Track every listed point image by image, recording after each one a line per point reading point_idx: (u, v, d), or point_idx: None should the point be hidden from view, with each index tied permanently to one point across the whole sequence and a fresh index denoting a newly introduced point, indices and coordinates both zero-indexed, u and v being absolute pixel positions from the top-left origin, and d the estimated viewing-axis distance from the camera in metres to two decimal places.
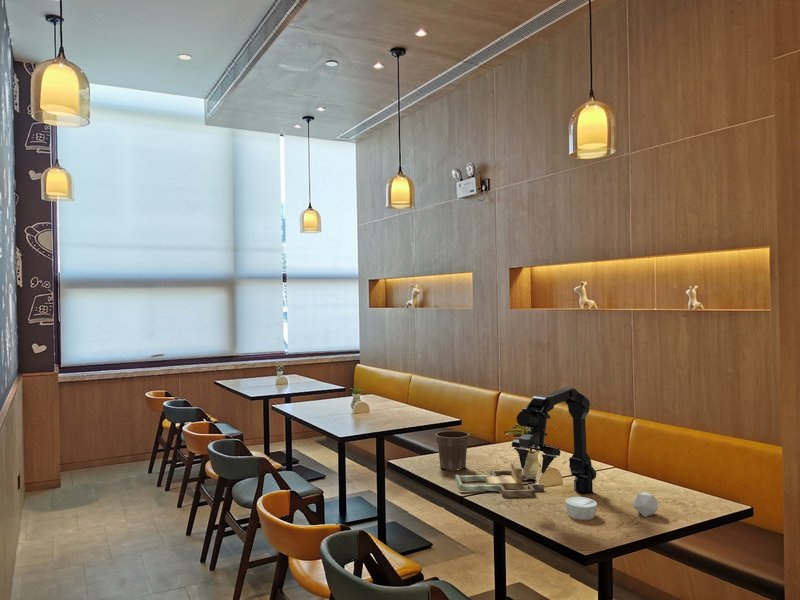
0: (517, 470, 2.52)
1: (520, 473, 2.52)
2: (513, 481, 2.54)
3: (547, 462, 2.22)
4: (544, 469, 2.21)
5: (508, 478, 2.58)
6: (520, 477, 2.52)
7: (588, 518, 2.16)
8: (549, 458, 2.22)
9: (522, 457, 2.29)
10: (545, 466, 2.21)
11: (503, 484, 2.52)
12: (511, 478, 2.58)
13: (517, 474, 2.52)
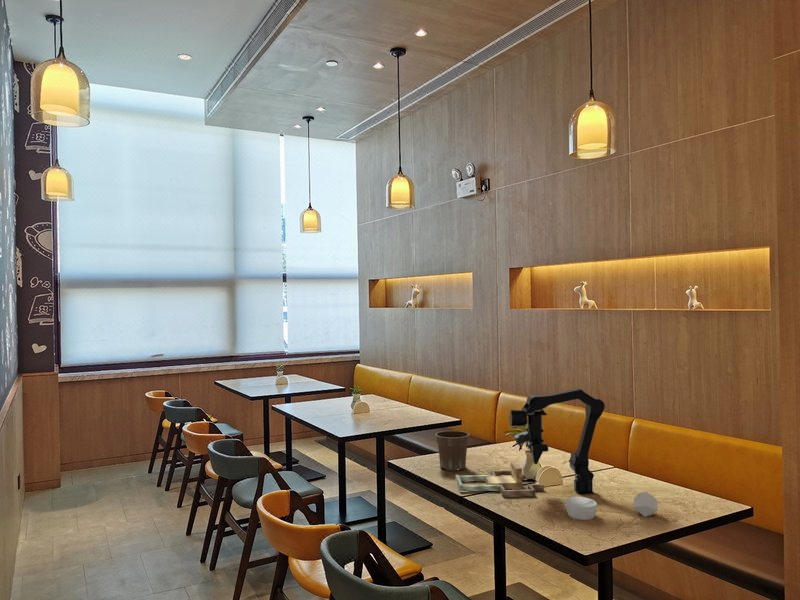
0: (517, 470, 2.52)
1: (520, 473, 2.52)
2: (513, 481, 2.54)
3: (537, 454, 2.45)
4: (535, 460, 2.46)
5: (508, 478, 2.58)
6: (520, 477, 2.52)
7: (588, 518, 2.16)
8: None
9: (533, 453, 2.48)
10: (535, 458, 2.46)
11: (503, 484, 2.52)
12: (511, 478, 2.58)
13: (517, 474, 2.52)
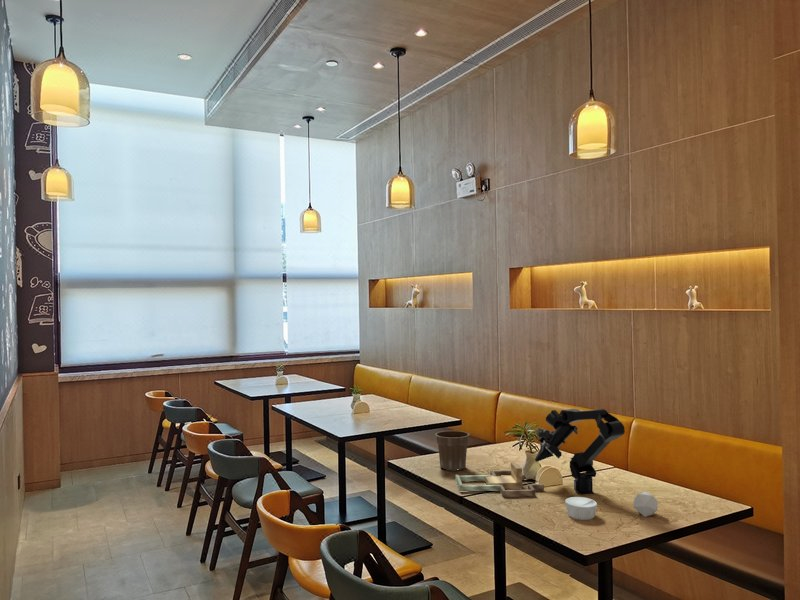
0: (517, 470, 2.52)
1: (520, 473, 2.52)
2: (513, 481, 2.54)
3: (544, 455, 2.56)
4: (538, 458, 2.56)
5: (508, 478, 2.59)
6: (520, 477, 2.52)
7: (588, 518, 2.16)
8: (547, 453, 2.55)
9: None
10: (540, 456, 2.56)
11: (503, 484, 2.52)
12: (511, 478, 2.58)
13: (517, 474, 2.52)
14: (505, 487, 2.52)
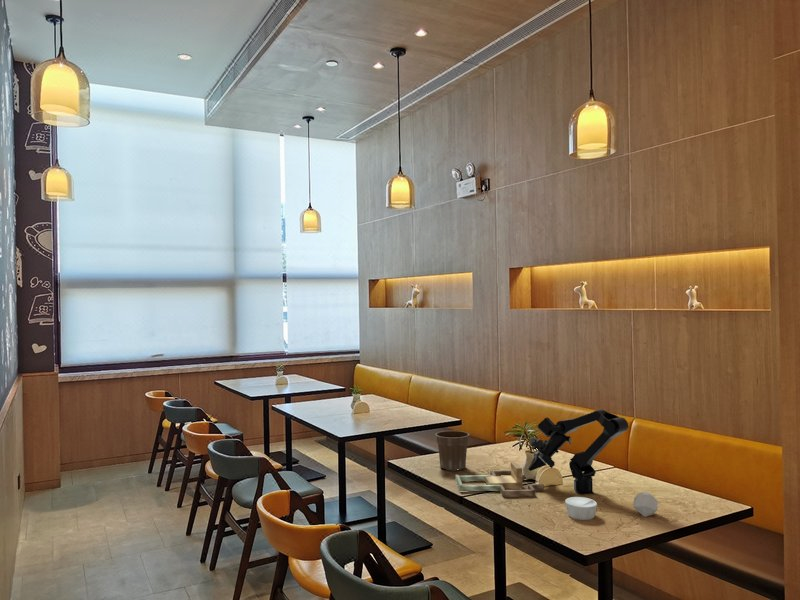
0: (517, 470, 2.52)
1: (520, 473, 2.52)
2: (513, 481, 2.54)
3: (537, 464, 2.56)
4: (531, 467, 2.56)
5: (508, 478, 2.59)
6: (520, 477, 2.52)
7: (588, 518, 2.16)
8: (540, 463, 2.55)
9: None
10: (533, 466, 2.56)
11: (503, 484, 2.52)
12: (511, 478, 2.59)
13: (517, 474, 2.52)
14: (505, 487, 2.52)
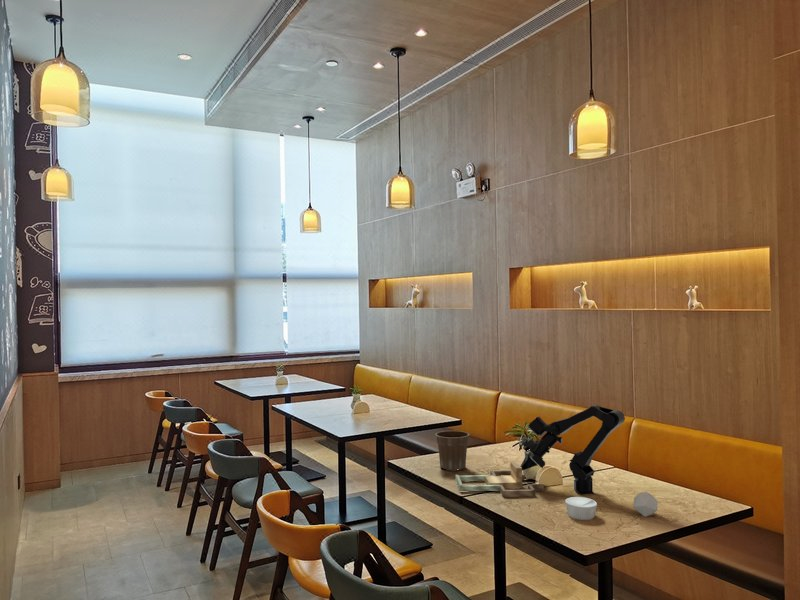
0: (517, 469, 2.52)
1: (520, 472, 2.52)
2: (513, 481, 2.54)
3: (528, 464, 2.56)
4: (522, 467, 2.56)
5: (508, 478, 2.59)
6: (520, 476, 2.52)
7: (588, 518, 2.16)
8: (531, 463, 2.55)
9: None
10: (524, 465, 2.56)
11: (503, 484, 2.52)
12: (511, 478, 2.59)
13: (517, 473, 2.52)
14: (505, 487, 2.52)
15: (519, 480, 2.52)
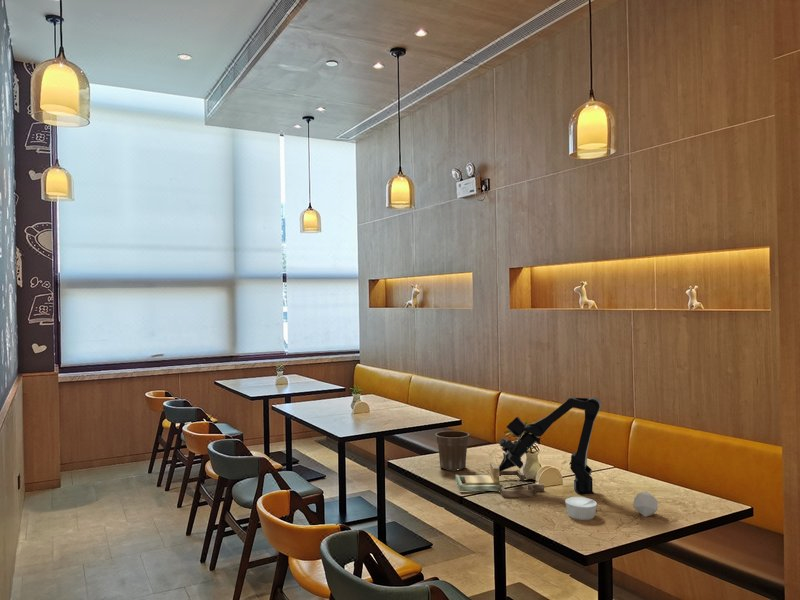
0: (494, 470, 2.52)
1: (497, 473, 2.52)
2: (491, 481, 2.54)
3: (506, 465, 2.55)
4: (501, 468, 2.56)
5: (486, 478, 2.59)
6: (497, 477, 2.52)
7: (588, 518, 2.16)
8: (510, 463, 2.55)
9: None
10: (503, 466, 2.56)
11: (480, 483, 2.52)
12: (489, 478, 2.59)
13: (494, 474, 2.52)
14: None
15: (496, 480, 2.52)
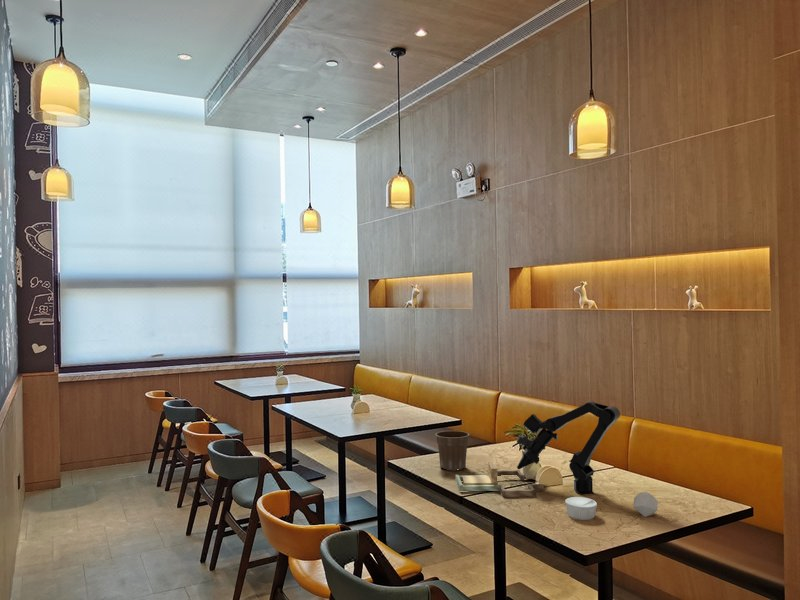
0: (492, 470, 2.52)
1: (495, 473, 2.52)
2: (489, 481, 2.54)
3: (525, 462, 2.57)
4: (520, 466, 2.57)
5: (484, 478, 2.59)
6: (495, 477, 2.52)
7: (588, 518, 2.16)
8: (528, 460, 2.56)
9: None
10: (521, 464, 2.57)
11: (478, 484, 2.52)
12: (487, 478, 2.59)
13: (492, 474, 2.52)
14: None
15: (494, 481, 2.52)
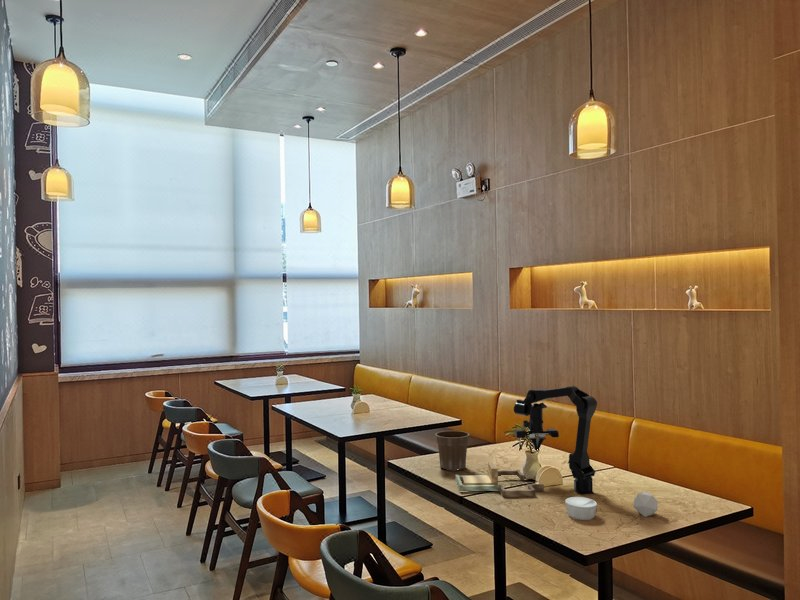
0: (492, 470, 2.52)
1: (495, 473, 2.52)
2: (489, 481, 2.55)
3: None
4: None
5: (484, 478, 2.59)
6: (495, 477, 2.52)
7: (588, 518, 2.16)
8: None
9: None
10: (533, 446, 2.65)
11: (478, 484, 2.52)
12: (487, 478, 2.59)
13: (492, 474, 2.52)
14: None
15: (494, 480, 2.52)
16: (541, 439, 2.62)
